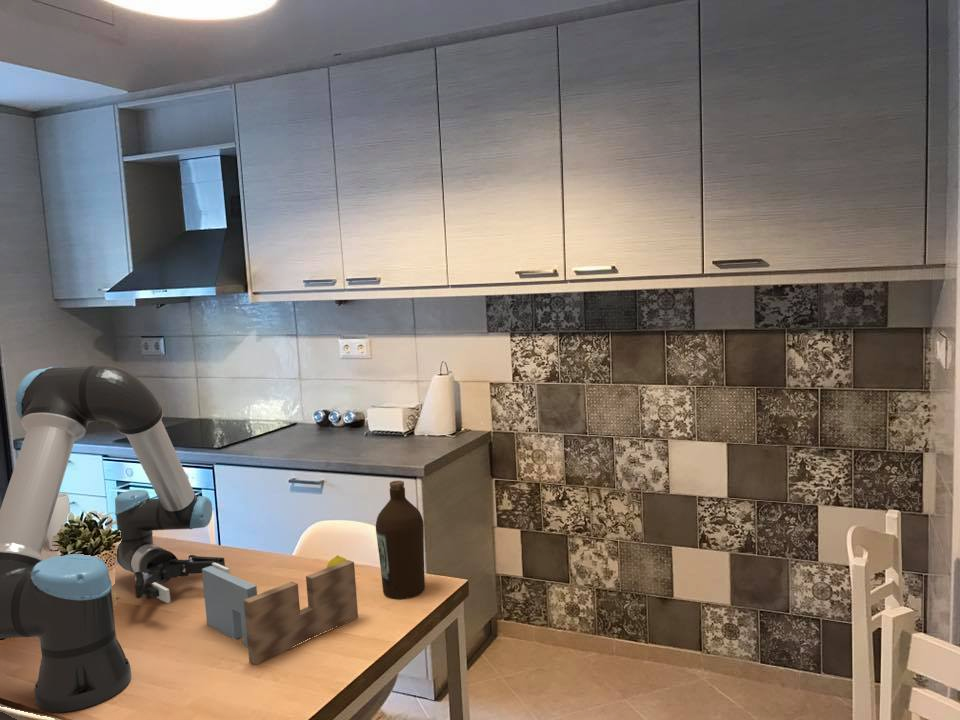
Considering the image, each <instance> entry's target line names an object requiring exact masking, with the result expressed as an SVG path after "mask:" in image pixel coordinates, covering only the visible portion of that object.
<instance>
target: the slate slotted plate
mask: <svg viewBox="0 0 960 720" xmlns="http://www.w3.org/2000/svg"><path fill="white" fill-rule="evenodd" d="M201 575H202V576H201V577H202V584H203V587H202V588H203V594H204V606H205V616H206V624H207V626H210V627H212V628H213V629H216V631H219V632H220V633H223V634H224V635H225V636H228V637H230V638H231V639H233V640H237V639H240V638H242V644H243V645H244V646H245V647H248V643H247V632H246V621H245V610H244V600H245V599H248V598H250V597H253V596H255V595H258V588H257V585H255V584H253V583H250V582H249V581H247V580H243V579H242V578H239V577H237V576H234V575H232V574H231V573H230V574H228V573H226V572H224V571H221V570H219V569H217V568H214V567H212V566H209V567H206V568H203V569H202V573H201Z"/></svg>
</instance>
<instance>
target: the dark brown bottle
mask: <svg viewBox="0 0 960 720" xmlns="http://www.w3.org/2000/svg"><path fill="white" fill-rule="evenodd" d="M404 486H405V481H404V480H393V481H391V482H389V497H390V499H389V500H388V502H386V504H385V505H384V507H383V508H382V509H381V510H380V512H379V513H378V516H377V517H376V522H375V533H376V535H375V536H376V541H377V548H378V549H377V550H378V556H379V557H378V558H379V559H378V560H379V565H380V575H381V576H380V577H381V586H382V591H383V592H382V593H383V595H384V596H385V597H387V598H389V599H395V600H403V599H410V598H415V597H417V596H419V595H421V594H423V592H425V588H426V585H425V584H426V582H425V579H426V577H425V549H424V548H425V545H424V544H425V543H424V542H425V541H424V540H425V539H424V538H425V537H424V535H425V532H424V531H425V529H424V519H423V516H422V514H421V512H420V510H419V509H418V508H417V507H416V506H415V505H413V504H412V502H410V501H409V500H408V499H407V498H406V488H405V487H404Z"/></svg>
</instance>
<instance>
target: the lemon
mask: <svg viewBox="0 0 960 720" xmlns="http://www.w3.org/2000/svg"><path fill="white" fill-rule="evenodd" d="M347 560H348V559H346V558H345V557H343V556H340V555H336V556H334V557H333V558H331V559H330V560H329V561H328V563H327V565H326V568H328V567H331V566H334V565H336V564H339V563H342V562H344V561H347Z"/></svg>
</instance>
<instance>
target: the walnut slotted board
mask: <svg viewBox="0 0 960 720" xmlns="http://www.w3.org/2000/svg"><path fill="white" fill-rule="evenodd" d="M346 560H347V561H344V562H342V563H339V564H336V565H334V566H331V567H328V568H327V567H326V568H324V569H321V570H319V571H316V572H313V573H310V574H308V575H306V576H305V580H306V581H305V582H306V594H307V595H306V596H307V607H304V608H302V609H301V606H300V595H299V594H300V593H299V584H298V583H297V582H294V581H290V582H287V583H284V584H282V585H279V586H276V587H274V588H272V589H269V590H266V591H264V592H261V593H257V595H255V596H253V597H250V598H248V599H245V600H244V610H245V621H246V632H247V643H248V646H247V651H248V662H249V663H251V664H252V665H254V666H256V665H258V664H261V663H262V662H265V661H267V660H269V659H271V658H274V657H275V656H278V655H280V654H282V653H285V652H287V651H288V650H287V649H289V650H291V649H292V647H293V646H295V645H297V644H299V643H301V642H303V641H305V640H307V639H309V638H312V637H314V636H316V635H319V634H320V633H323V632H325V631H328V630H330V629H332V628H335V627H336V626H339V625H341V626H343V625H345V624H347V623H346V622H348V623H350V622H352V621H354V620H356V619H358V618H359V612H358V609H359V608H358V599H357V585H356V584H357V583H356V570H355V562H354V561H352V560H349V559H346ZM353 619H354V620H353ZM349 621H350V622H349ZM344 623H345V624H344ZM342 624H343V625H342ZM339 627H340V626H339ZM335 629H336V628H335ZM332 630H333V629H332ZM330 631H331V630H330ZM328 632H329V631H328ZM319 636H320V635H319ZM295 647H296V646H295ZM290 648H291V649H290ZM293 648H294V647H293ZM286 650H287V651H286ZM284 651H285V652H284ZM279 653H280V654H279Z"/></svg>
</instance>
